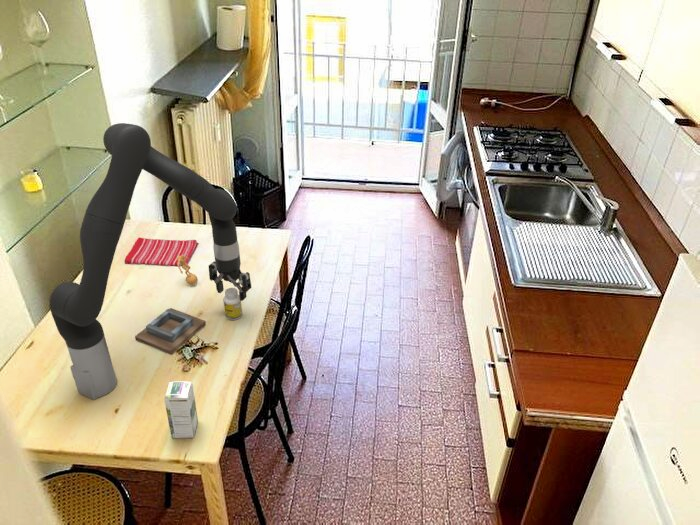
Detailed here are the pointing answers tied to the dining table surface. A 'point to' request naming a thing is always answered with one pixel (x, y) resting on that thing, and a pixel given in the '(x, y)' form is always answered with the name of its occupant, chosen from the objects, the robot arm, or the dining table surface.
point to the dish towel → (160, 251)
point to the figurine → (190, 278)
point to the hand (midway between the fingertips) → (231, 295)
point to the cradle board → (170, 330)
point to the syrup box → (181, 409)
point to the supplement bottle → (232, 304)
